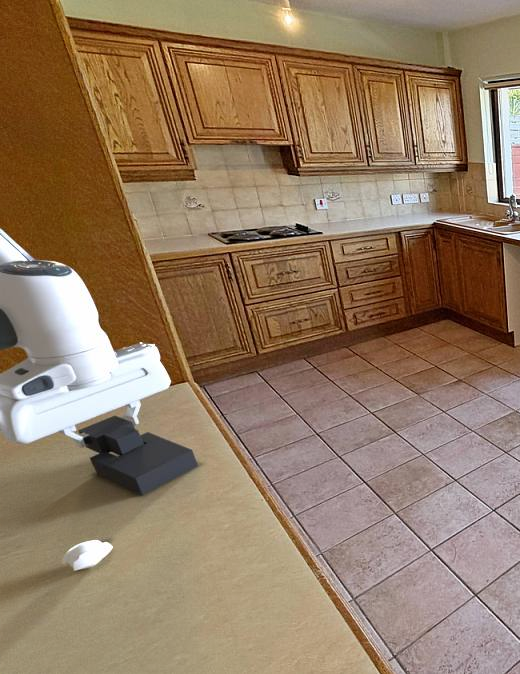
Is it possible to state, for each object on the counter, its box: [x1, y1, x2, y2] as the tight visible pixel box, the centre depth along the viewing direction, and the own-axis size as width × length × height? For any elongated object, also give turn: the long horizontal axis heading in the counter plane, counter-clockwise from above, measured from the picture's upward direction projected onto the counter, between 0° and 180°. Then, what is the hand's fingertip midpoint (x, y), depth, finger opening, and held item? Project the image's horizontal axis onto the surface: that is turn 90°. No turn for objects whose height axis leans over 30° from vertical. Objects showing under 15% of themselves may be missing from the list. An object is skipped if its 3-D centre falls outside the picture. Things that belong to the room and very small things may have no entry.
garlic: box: [60, 539, 113, 572], centre depth 62 cm, size 5×3×5 cm
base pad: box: [89, 431, 199, 496], centre depth 79 cm, size 12×8×4 cm, turn 69°
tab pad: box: [77, 415, 144, 456], centre depth 80 cm, size 8×5×4 cm, turn 69°
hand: (109, 434), depth 80 cm, fingers closed on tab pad, 5 cm apart
